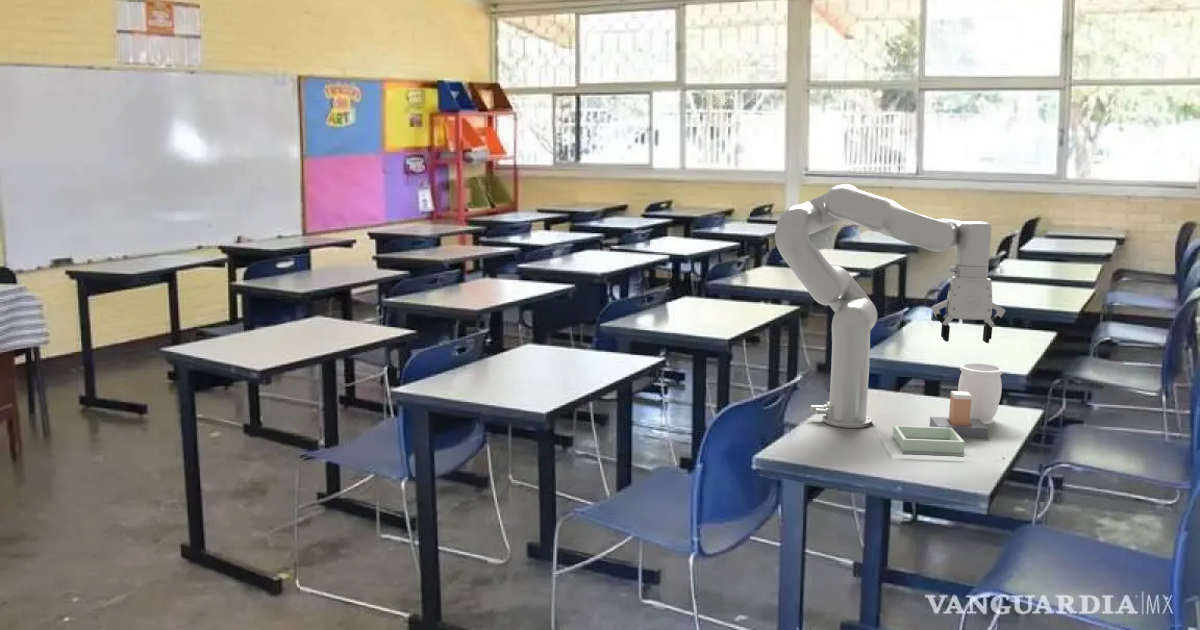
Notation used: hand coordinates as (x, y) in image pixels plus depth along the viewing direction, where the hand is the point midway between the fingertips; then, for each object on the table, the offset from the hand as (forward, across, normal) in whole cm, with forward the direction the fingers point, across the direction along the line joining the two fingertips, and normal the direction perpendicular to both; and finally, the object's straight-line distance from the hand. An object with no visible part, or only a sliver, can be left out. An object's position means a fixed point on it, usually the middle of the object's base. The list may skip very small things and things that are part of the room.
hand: (965, 341), depth 254 cm
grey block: (+24, 0, 0) cm, 24 cm away
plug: (+23, 0, 0) cm, 23 cm away
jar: (+24, +8, +13) cm, 29 cm away
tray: (+24, -10, -12) cm, 29 cm away
